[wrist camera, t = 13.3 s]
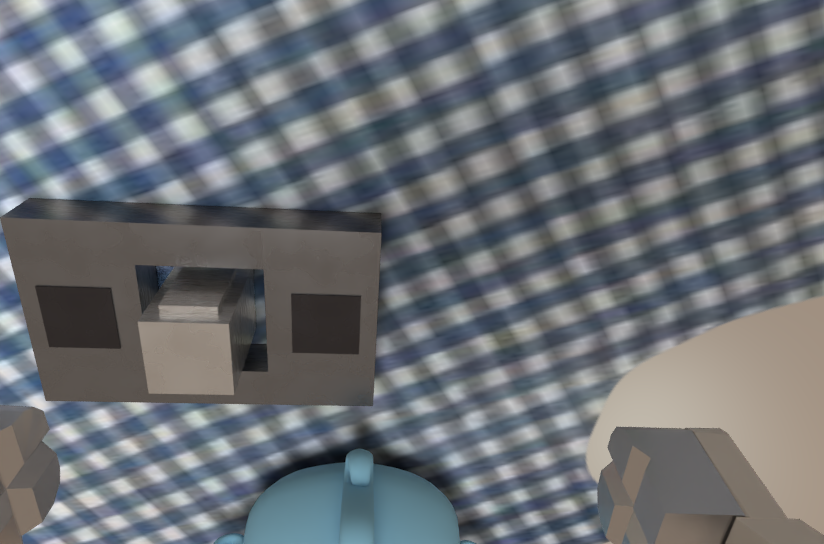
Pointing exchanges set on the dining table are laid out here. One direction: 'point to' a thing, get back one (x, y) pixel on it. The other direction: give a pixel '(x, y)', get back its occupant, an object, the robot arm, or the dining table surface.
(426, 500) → the decorative pot
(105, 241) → the grey flat block
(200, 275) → the stepped metal block
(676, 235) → the dining table surface
